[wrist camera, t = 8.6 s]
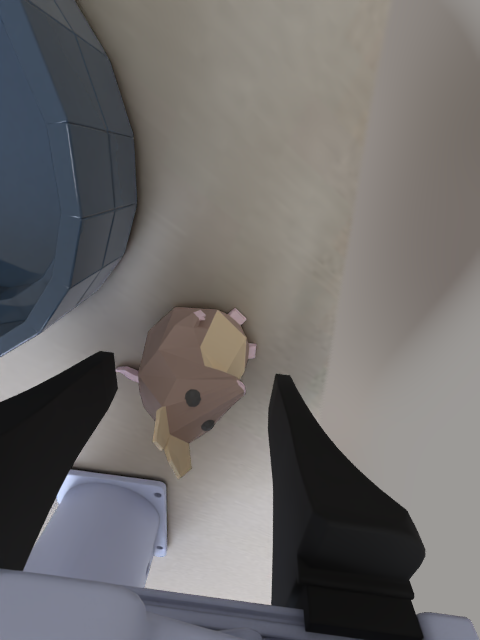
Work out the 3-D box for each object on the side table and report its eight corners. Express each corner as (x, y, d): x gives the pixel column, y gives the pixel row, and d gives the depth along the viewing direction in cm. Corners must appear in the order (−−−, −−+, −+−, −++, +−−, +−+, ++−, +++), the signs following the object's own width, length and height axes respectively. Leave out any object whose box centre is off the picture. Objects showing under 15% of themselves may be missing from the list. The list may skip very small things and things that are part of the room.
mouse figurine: (88, 331, 15) (-25, 438, 9) (232, 284, 13) (209, 377, 7) (137, 404, 17) (71, 529, 11) (267, 371, 16) (271, 498, 10)
